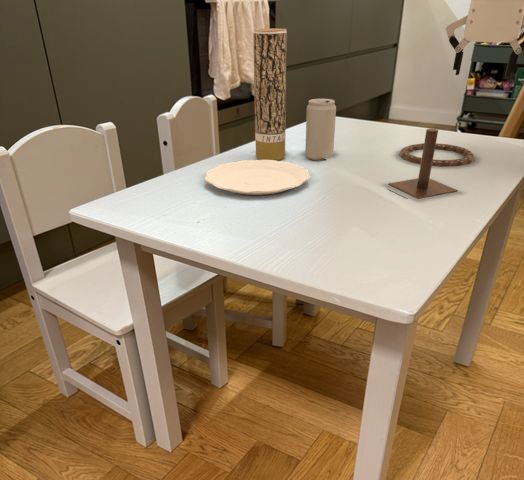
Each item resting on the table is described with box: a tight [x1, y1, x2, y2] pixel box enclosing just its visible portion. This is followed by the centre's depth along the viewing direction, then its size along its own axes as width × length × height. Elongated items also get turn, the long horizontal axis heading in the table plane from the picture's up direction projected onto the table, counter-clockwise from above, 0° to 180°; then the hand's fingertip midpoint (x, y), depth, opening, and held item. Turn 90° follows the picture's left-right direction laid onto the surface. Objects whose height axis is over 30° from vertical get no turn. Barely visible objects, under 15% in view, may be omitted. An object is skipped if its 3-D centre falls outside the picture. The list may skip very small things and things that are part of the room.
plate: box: [204, 159, 311, 196], centre depth 100 cm, size 21×21×2 cm
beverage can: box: [304, 98, 337, 162], centre depth 111 cm, size 6×6×12 cm
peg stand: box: [387, 128, 459, 200], centre depth 91 cm, size 9×9×11 cm
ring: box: [398, 142, 476, 168], centre depth 111 cm, size 16×16×2 cm
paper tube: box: [252, 28, 288, 161], centre depth 108 cm, size 7×7×25 cm
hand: (481, 75), depth 102 cm, fingers open, 9 cm apart
